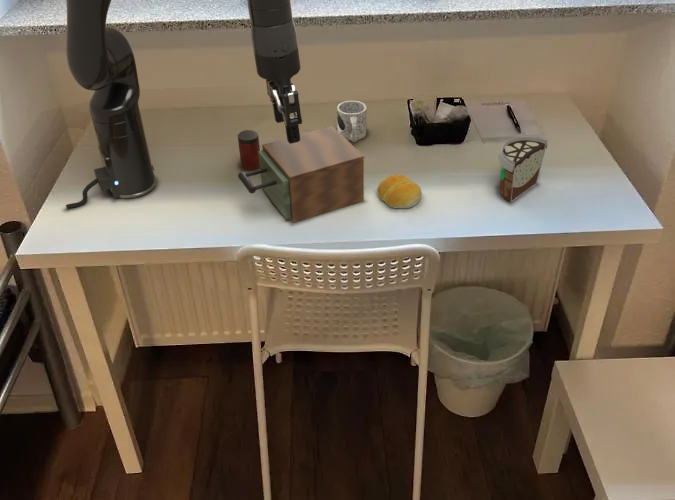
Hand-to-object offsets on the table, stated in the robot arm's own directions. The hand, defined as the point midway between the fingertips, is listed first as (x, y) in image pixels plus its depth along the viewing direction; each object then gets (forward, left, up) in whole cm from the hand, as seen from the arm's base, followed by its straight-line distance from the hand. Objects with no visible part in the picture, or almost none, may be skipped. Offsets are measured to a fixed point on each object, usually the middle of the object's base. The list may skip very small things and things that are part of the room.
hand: (287, 131), depth 128 cm
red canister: (-1, +21, -18) cm, 28 cm away
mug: (+24, +21, -19) cm, 37 cm away
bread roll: (+21, -5, -19) cm, 29 cm away
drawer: (+2, +4, -17) cm, 18 cm away
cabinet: (+6, +4, -18) cm, 20 cm away
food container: (+43, -13, -19) cm, 49 cm away
